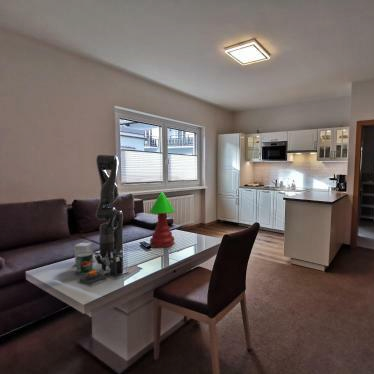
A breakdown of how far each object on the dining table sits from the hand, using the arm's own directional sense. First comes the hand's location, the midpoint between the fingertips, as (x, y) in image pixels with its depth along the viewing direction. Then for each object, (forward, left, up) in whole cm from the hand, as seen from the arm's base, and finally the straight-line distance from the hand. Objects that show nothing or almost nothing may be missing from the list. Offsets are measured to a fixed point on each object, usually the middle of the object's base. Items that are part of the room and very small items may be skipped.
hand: (107, 268), depth 140 cm
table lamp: (-12, +56, -2) cm, 57 cm away
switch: (+4, 0, +4) cm, 6 cm away
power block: (+4, -11, -2) cm, 12 cm away
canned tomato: (-12, -6, -2) cm, 14 cm away
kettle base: (+8, 0, -2) cm, 8 cm away
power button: (+4, -11, +1) cm, 12 cm away
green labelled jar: (-26, +2, -2) cm, 26 cm away
